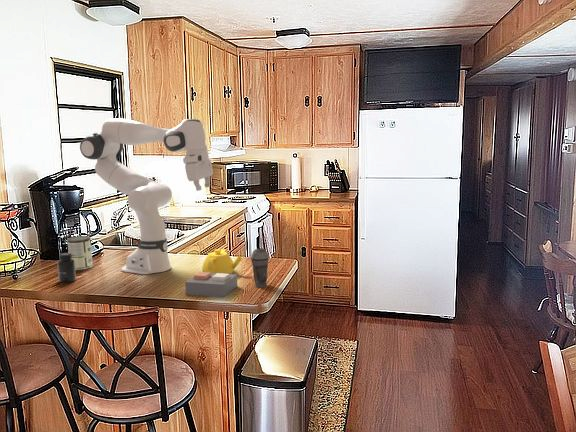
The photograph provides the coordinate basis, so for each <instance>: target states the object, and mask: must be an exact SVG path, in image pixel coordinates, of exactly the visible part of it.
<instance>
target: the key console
mask: <svg viewBox="0 0 576 432" xmlns="http://www.w3.org/2000/svg"><path fill="white" fill-rule="evenodd" d="M215 274H217V273H211V277H210V278H208V279H207V280H196V279H194V276H192V277H191V278H189V279H188V280H186V281H185V283H184V286H185V295H189V296H203V297H214V298H215V297H216V298H225V297H227V296H228V295H229V294H230V293H231V292H233V291H234V290H235V289H236V288H237V287H238V274H233V273H232V274H229V279H228V280H226V281H213V278H212V276H214V275H215Z"/></svg>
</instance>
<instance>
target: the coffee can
mask: <svg viewBox="0 0 576 432" xmlns="http://www.w3.org/2000/svg"><path fill="white" fill-rule="evenodd" d="M66 242H67V250H68V251H67V253H71V254H72V258H71V259H73V260H74V261H75V271H80V270H81V271H82V270H87V269H90V268H93V266H94V265H93V255H92V244H91V236H88V235H79V236H72V237H68V238H66Z"/></svg>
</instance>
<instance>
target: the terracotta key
mask: <svg viewBox="0 0 576 432" xmlns="http://www.w3.org/2000/svg"><path fill="white" fill-rule="evenodd" d="M193 277H194V279H196V280H207V279H208V278H210V277H211V273H208V272H202V271H198V272H196V273H195V274H194V275H193Z"/></svg>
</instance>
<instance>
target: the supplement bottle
mask: <svg viewBox="0 0 576 432" xmlns="http://www.w3.org/2000/svg"><path fill="white" fill-rule="evenodd" d="M71 258H72V254H71V253H68V252H62V253H60V254H59V260H58V262H57V272H58V273H57V274H58V275H57V276H58V282H59V283H61V284H69V283H74V282H75V281H76V279H77V275H76V270H75V261H74V260H73V259H71Z"/></svg>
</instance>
